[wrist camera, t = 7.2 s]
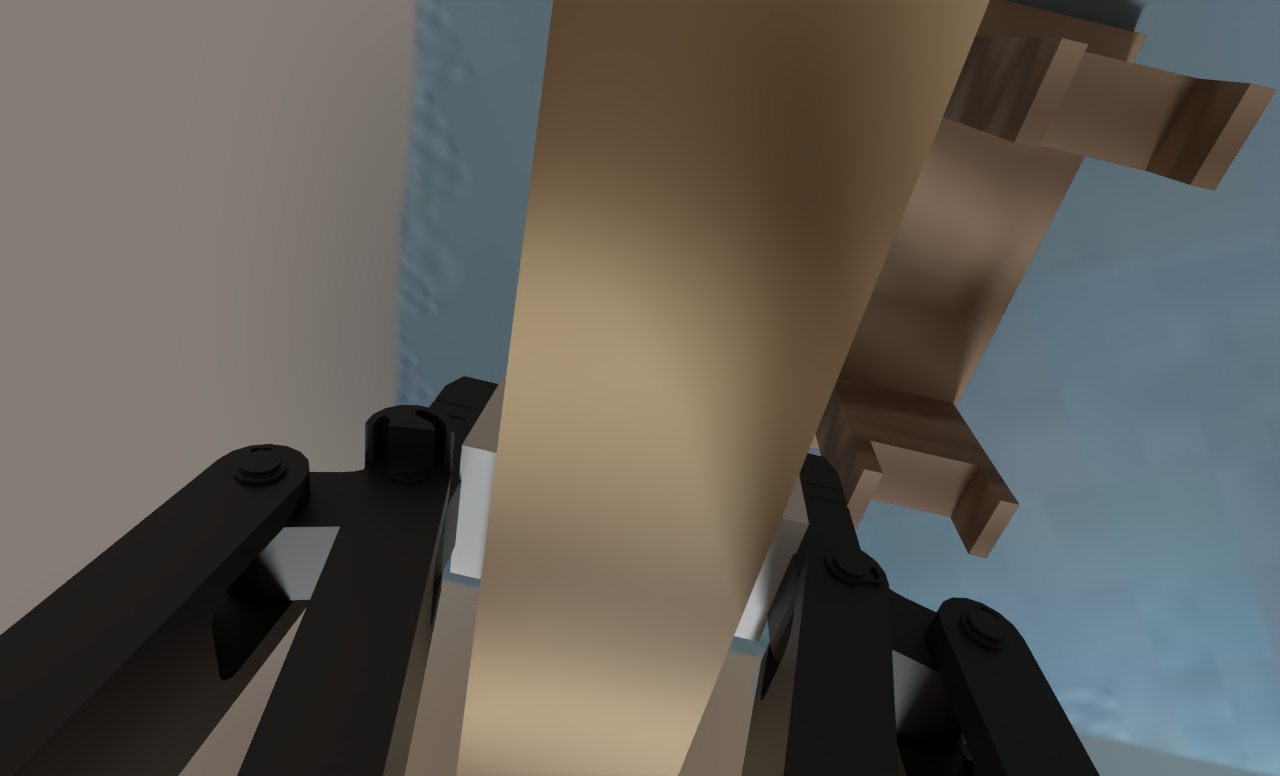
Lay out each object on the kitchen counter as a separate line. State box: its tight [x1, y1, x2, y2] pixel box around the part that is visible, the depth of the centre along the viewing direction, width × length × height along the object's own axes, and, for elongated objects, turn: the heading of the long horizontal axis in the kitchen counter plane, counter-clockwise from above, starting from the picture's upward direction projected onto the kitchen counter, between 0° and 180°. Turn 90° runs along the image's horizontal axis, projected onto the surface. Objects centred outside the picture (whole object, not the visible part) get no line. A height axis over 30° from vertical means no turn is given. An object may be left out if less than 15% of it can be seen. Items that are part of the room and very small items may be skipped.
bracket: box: [810, 0, 1276, 558], centre depth 28 cm, size 22×7×10 cm, turn 168°
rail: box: [456, 0, 990, 776], centre depth 12 cm, size 22×4×4 cm, turn 168°
